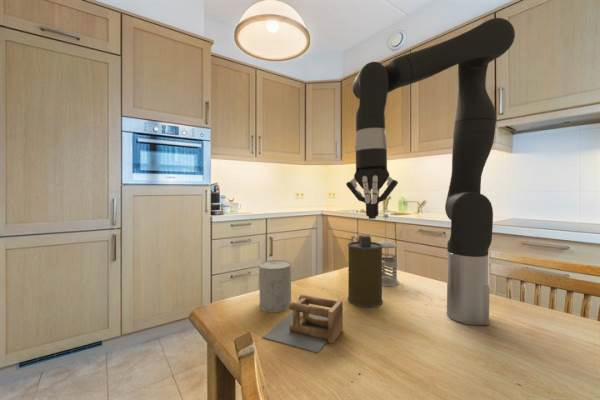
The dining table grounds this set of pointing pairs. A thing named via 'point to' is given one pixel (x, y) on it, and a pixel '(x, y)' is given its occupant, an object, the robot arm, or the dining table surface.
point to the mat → (296, 335)
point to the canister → (365, 272)
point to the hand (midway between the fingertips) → (372, 218)
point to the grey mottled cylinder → (275, 285)
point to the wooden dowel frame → (332, 314)
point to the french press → (389, 262)
